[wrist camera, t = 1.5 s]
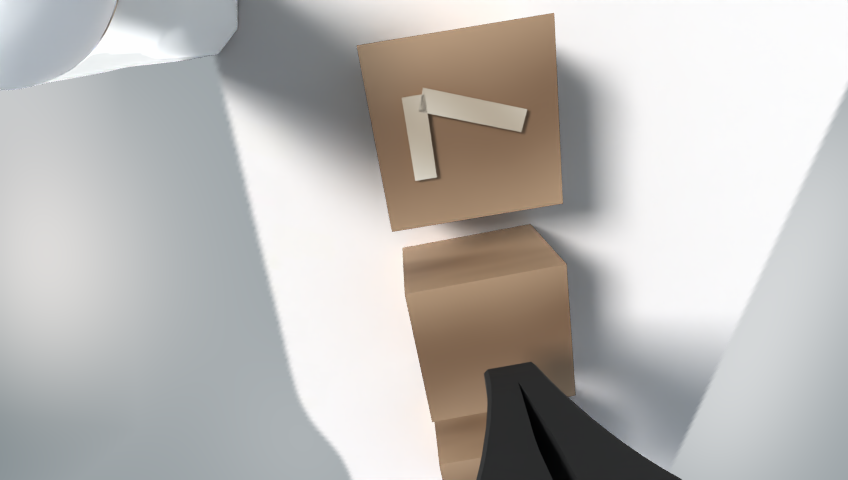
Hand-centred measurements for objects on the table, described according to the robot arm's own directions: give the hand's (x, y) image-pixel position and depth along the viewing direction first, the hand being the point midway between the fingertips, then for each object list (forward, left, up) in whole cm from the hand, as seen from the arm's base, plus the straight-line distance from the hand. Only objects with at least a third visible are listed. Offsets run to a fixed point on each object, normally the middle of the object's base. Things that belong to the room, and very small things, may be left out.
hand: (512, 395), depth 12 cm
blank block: (0, 0, -6) cm, 6 cm away
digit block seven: (+7, 0, -6) cm, 9 cm away
